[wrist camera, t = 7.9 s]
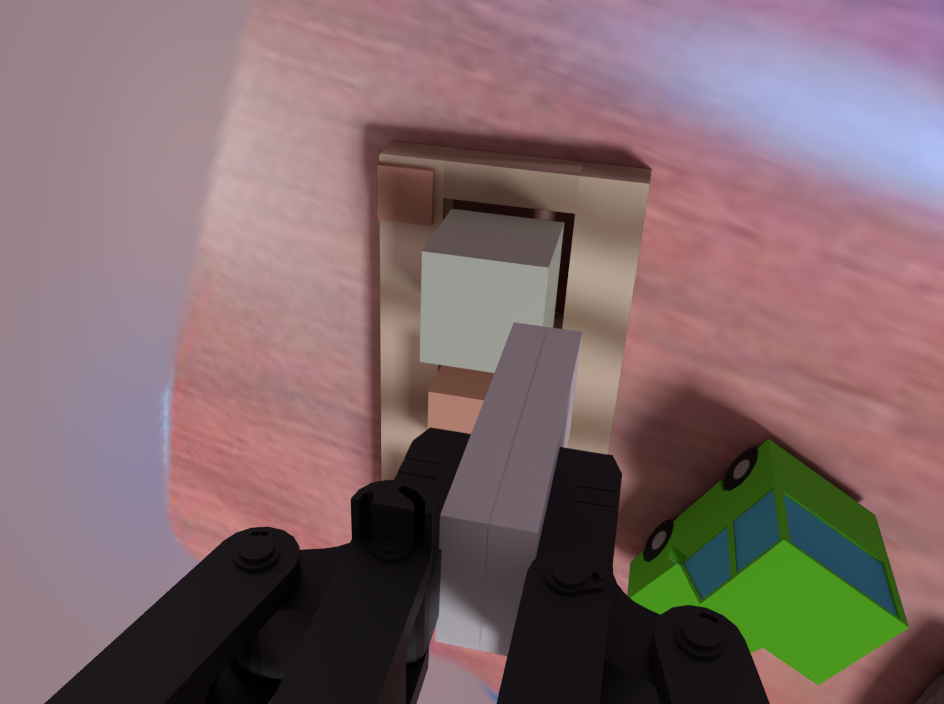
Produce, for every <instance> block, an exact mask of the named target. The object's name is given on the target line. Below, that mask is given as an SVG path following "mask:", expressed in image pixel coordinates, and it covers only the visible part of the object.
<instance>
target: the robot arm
mask: <svg viewBox="0 0 944 704" xmlns="http://www.w3.org/2000/svg"><path fill="white" fill-rule="evenodd" d="M581 340H582V332H579V331H572V330H565V329H558V328H551V327H544V326H537V325H530V324H523V323H516V322H514V323H513V326H512V328H511V331H510V333H509V336H508V339H507V341H506V344H505V347H504V349H503V352H502V354H501V357H500V360H499V362H498V365H497V368H496V370H495V373H494V375H493V378H492V381H491V383H490V386H489V388H488V391H487V394H486V396H485V399H484V402H483V404H482V407H481V409H480V412H479V415H478V417H477V420H476V423H475V425H474V428H473V430H472V433H471V434H468V433H462V432H456V431H450V430H444V429H438V428H432V427H430V428H429V429H427V430H426V431H425V432H423V433H422V434H421V435H419V436H418V437H417V438H415V439H414V440H413V441H412V443H411V445H410V447H409V449H408V451H407V453H406V455H405V457H404V461H403V462H402V464H401V466H400V468H399V470H398V474H397V475H396V476H395V478H394V480H384V481H379V482H374V483H371V484H369V485H367V486H365V487H363V488H361V489H359V490H358V491H357V492H356V494H355V495H354V496H353V497H352V498H351V523H352V540H351V542H350V543H348V544H344V545H341V546H338V547H332V548H324V549H307V550H300V547H299V545H298V543H297V542H296V540H295V538H294V537H293V536H291V535H290V534H288V533H287V532H285V531H284V530H281V529H276V528H271V527H255V528H249V529H246V530H243V531H240V532H237V533H235V534H234V535H232V536H230V537H229V538H227V539H226V540H224V541H223V542H222V543H221V544H220V545H219V546H218V547H216V548H215V549H214V550H213V551H212V552H211V553H210V554H209V555H208V556H206V557H205V558H204V559H203V560H202V561H201V562H200V563H199V564H198V565H197V566H195V568H193V569H192V570H191V571H190V572H189V573H188V574H187V575H186V576H185V577H183V578H182V579H181V580H180V581H179V582H178V583H177V584H176V585H175V586H173V587H172V588H171V589H170V590H169V591H168V592H167V593H166V594H165V595H163V596H162V597H161V598H160V599H159V600H158V601H157V602H156V603H155V604H154V605H153V606H152V607H150V608H149V609H148V610H147V611H146V612H145V613H144V614H143V615H141V616H140V617H139V618H138V619H137V620H136V621H135V622H134V623H133V624H132V625H131V626H129V627H128V628H127V629H126V630H125V631H124V632H123V633H122V634H121V635H119V636H118V637H117V638H116V639H115V640H114V641H113V642H112V643H111V644H110V645H108V646H107V647H106V648H105V649H104V650H103V651H102V652H101V653H100V654H99V655H98V656H96V657H95V658H94V659H93V660H92V661H91V662H90V663H89V664H87V665H86V666H85V667H84V668H83V669H82V670H81V671H80V672H79V673H77V674H76V675H75V676H74V677H73V678H72V679H71V680H70V681H69V682H68V683H66V684H65V685H64V686H63V687H62V688H61V689H60V690H59V691H58V692H57V693H55V694H54V695H53V696H52V697H51V698H50V699H49V700H48V701H47V702H46V703H44V704H416V703H417V700H418V697H419V694H420V691H421V688H422V685H423V682H424V678H425V675H426V672H427V669H428V659H429V644H430V641H431V638H432V635H433V631H434V628H435V625H436V641H437V642H441V643H446V644H451V645H456V646H461V647H466V648H471V649H476V650H480V651H485V652H490V653H495V654H500V655H505V656H507V661H506V665H505V669H504V674H503V678H502V683H501V687H500V691H499V696H498V700H497V704H770V703H769V700H768V698H767V695H766V693H765V690H764V687H763V685H762V682H761V680H760V677H759V674H758V672H757V669H756V666H755V664H754V661H753V659H752V656H751V653H750V651H749V648H748V645H747V643H746V640H745V639H744V637H743V635H742V634H741V632H740V631H739V629H738V627H737V626H736V625H735V624H733V623H732V622H731V621H730V620H728V619H727V618H726V617H725V616H724V615H722V614H720V613H717V612H715V611H713V610H711V609H708V608H706V607H699V606H693V605H684V606H677V607H672V608H671V609H669V610H667V611H665V612H664V613H662V614H661V615H660V614H658V613H656V612H654V611H651V610H649V609H647V608H645V607H643V606H642V605H640V604H638V603H636V602H635V601H633V600H632V599H631V598H630V597H628V596H627V595H626V594H625V593H624V592H623V591H622V589H621V588H620V587H619V585H618V584H617V582H616V580H615V577H614V575H613V556H614V547H615V537H616V527H617V518H618V508H619V498H620V489H621V479H622V473H621V471H620V469H619V467H618V465H617V463H616V461H615V459H614V457H613V455H607V454H601V453H595V452H589V451H583V450H577V449H571V448H567V445H568V440H569V435H570V427H571V419H572V411H573V403H574V396H575V388H576V380H577V372H578V364H579V356H580V348H581Z"/></svg>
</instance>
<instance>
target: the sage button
mask: <svg viewBox="0 0 944 704" xmlns="http://www.w3.org/2000/svg"><path fill="white" fill-rule="evenodd" d="M563 231H564V222H557V221H549V220H540V219H532V218H524V217H516V216H507V215H499V214H491V213H483V212H474V211H466V210H458V209H451V210H450V212H449V213H448V215H447V216H446V217H445V219H444V220H443V222H442V223H441V225H440V226H439V227H438V229H437V230H436V232H435V233H434V235H433V236H432V238H431V239H430V240H429V242H428V243H427V245H426V246H425V248H424V249H423V250H422V271H421V323H420V362H425V363H432V364H438V365H445V366H452V367H458V368H465V369H471V370H478V371H485V372H491V373H495V370H496V368H497V365H498V362H499V360H500V357H501V354H502V352H503V349H504V347H505V344H506V341H507V339H508V336H509V333H510V331H511V328H512V326H513V323H514V322H516V323H523V324H530V325H537V326H544V327H551V328H553V324H554V315H555V306H556V296H557V287H558V278H559V268H560V259H561V249H562V240H563Z"/></svg>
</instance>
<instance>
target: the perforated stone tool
mask: <svg viewBox="0 0 944 704" xmlns="http://www.w3.org/2000/svg"><path fill="white" fill-rule="evenodd" d="M914 704H944V673H943V674H942V675H941V676H939V677H938V678H937V679H935V680H934V681H933V682H932V683H931V684H930V685H929V686H928V687H927V689H926V690H925V692H923V693H922V695H921V696H920V697H919V698H918V699H917V700H916V701H915V703H914Z"/></svg>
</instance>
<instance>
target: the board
mask: <svg viewBox="0 0 944 704" xmlns="http://www.w3.org/2000/svg"><path fill="white" fill-rule="evenodd" d="M650 177H651V169H645V168H636V167H627V166H618V165H609V164H600V163H590V162H581V161H572V160H563V159H554V158H545V157H536V156H526V155H517V154H508V153H499V152H490V151H481V150H471V149H462V148H453V147H444V146H435V145H426V144H417V143H407V142H398V141H393V142H391V143H390V144H389V145H388V146H387V147H386V148H385V149H384V150H383V151H382V152H381V153H379V164H378V165H377V219H378V220H380V333H381V481H384V480H394V478H395V476H396V475H397V474H398V470H399V468H400V466H401V464H402V462H403V461H404V457H405V455H406V453H407V451H408V449H409V447H410V445H411V443H412V441H413V440H414V439H415V438H417V437H418V436H419V435H421V434H422V433H423V432H425V431H426V430H427V429H428V392H429V390H430V388H431V386H432V384H433V382H434V380H435V378H436V376H437V374H438V371H439V369H440V367H441V365H438V364H432V363H425V362H420V323H421V271H422V250H423V249H424V248H425V246H426V245H427V243H428V242H429V240H430V239H431V238H432V236H433V235H434V233H435V232H436V230H437V229H438V227H439V226H440V225H441V223H442V222H443V220H444V219H445V217H446V216H447V215H448V213H449V212H450V210H451V209H453V199H456V200H464V201H473V202H481V203H489V204H498V205H506V206H515V207H523V208H531V209H540V210H548V211H557V212H565V213H573V214H575V220H574V229H573V238H572V247H571V256H570V265H569V274H568V282H567V291H566V300H565V309H564V313H559V312H555V315H554V324H553V328H558V329H565V330H572V331H579V332H582V340H581V348H580V356H579V364H578V372H577V380H576V388H575V396H574V403H573V411H572V419H571V427H570V435H569V440H568V445H567V448H571V449H577V450H583V451H589V452H595V453H601V454H607V455H608V450H609V443H610V437H611V430H612V424H613V418H614V411H615V405H616V398H617V392H618V385H619V379H620V372H621V366H622V360H623V353H624V347H625V340H626V334H627V327H628V321H629V314H630V308H631V302H632V295H633V289H634V282H635V276H636V269H637V263H638V256H639V250H640V244H641V237H642V231H643V224H644V218H645V211H646V205H647V199H648V192H649V186H650Z"/></svg>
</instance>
